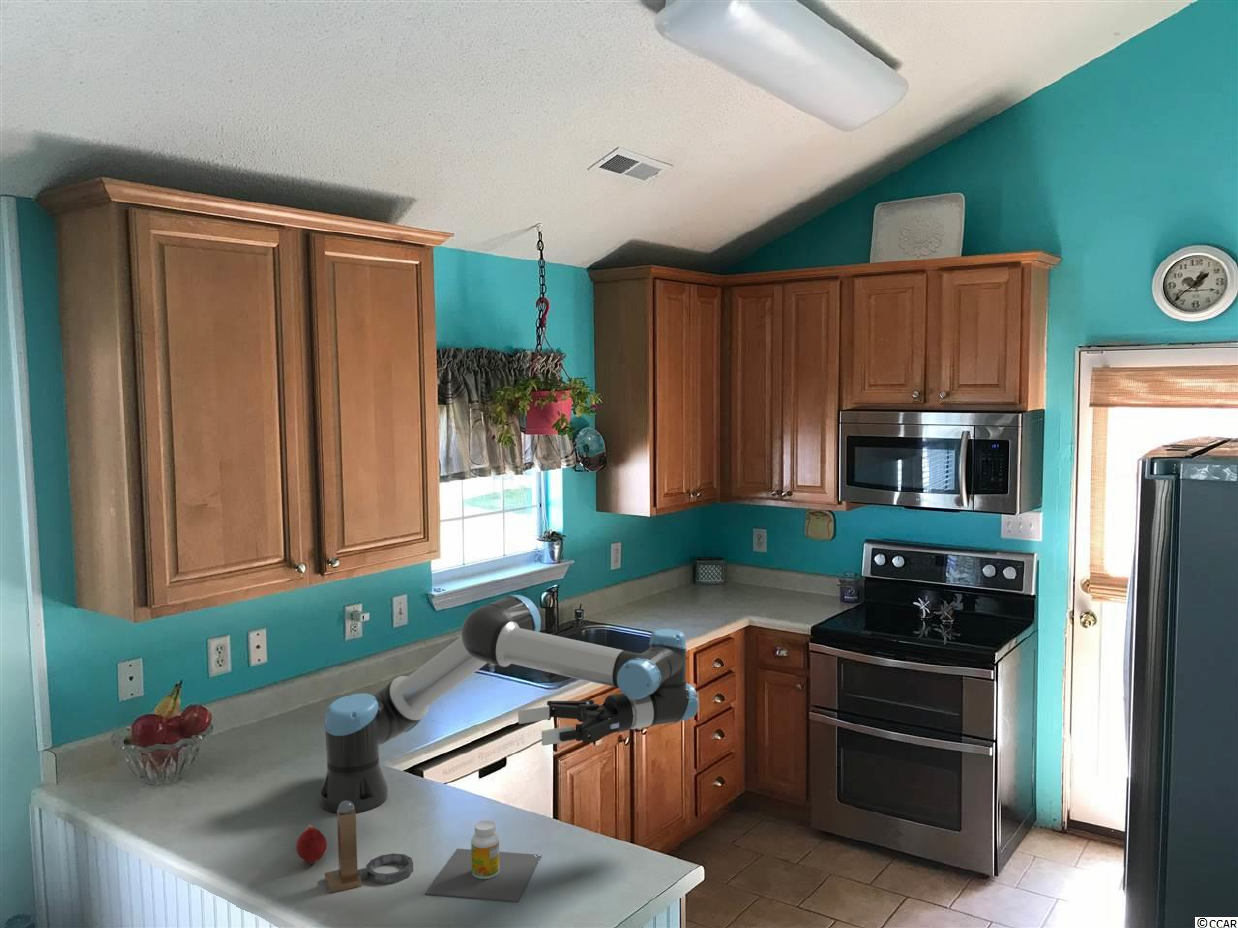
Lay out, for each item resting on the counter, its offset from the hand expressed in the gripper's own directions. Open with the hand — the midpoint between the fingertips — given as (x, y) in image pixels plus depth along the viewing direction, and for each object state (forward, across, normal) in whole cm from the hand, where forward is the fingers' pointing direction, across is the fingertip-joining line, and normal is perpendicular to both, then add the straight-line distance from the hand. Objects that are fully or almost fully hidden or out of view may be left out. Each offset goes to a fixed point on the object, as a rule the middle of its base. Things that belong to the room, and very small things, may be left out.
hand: (530, 727), depth 192 cm
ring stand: (+31, +9, -28) cm, 43 cm away
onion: (+40, +20, -28) cm, 53 cm away
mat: (+10, 0, -28) cm, 30 cm away
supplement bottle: (+10, 0, -28) cm, 30 cm away
